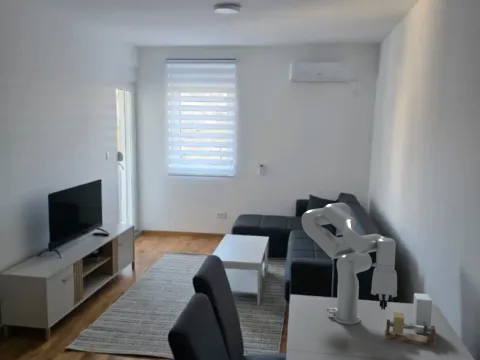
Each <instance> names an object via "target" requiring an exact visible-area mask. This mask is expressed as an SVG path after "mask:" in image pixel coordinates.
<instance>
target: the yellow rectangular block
mask: <svg viewBox="0 0 480 360" xmlns="http://www.w3.org/2000/svg"><path fill="white" fill-rule="evenodd" d="M392 316H393V317H392V322H393V327H392V331H393V333H400V334H403V333H404V328H403V327H404V323H405V315H404V313H403V312H395V311H394V312H393V315H392Z"/></svg>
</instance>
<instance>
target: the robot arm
mask: <svg viewBox="0 0 480 360" xmlns="http://www.w3.org/2000/svg"><path fill="white" fill-rule="evenodd" d="M351 214H352V210H351V208H350V206H349V205H348V204H347V203H345V202H335V203H329V204H326V205H324V207H322V208H314V209H310V210H307V211H305V212H304V213H303V214H302V216H301V225H302V229H303V231H304V232H305V233H306V234H307V236H308V237H309V238H310V239H312V240H313V241H314V242H315V243H316V244H317V245H318V247H320V248H321V249H322V250H323V252H325V254H327V255H328V256H329V257H330V258H332V259H337V261H336V269H337V292H336V293H337V297H336V298H337V299H336V307H329V306H327V307H326V312H328V313H329V314H332V318H333V320H334V321H335V322H337V323H339V324H343V325H347V326H348V325H351V326H353V325H356V324H359V323H360V322H361V317H360V315H359V314H358V309H359V308H358V307H359V306H358V305H359V292H360V291H359V290H360V289H359V288H360V287H359V286H360V285H359V284H360V283H359V282H360V281H359V279H358V277H357V274H359V273H362V272H365V271H368V270H369V269H370V268H371V267H373V268H374V269H373V273H372V277H371V278H372V281H371V290H370V294H371V295H373V296H376V297H377V298H378V299H379V307H380V310H384V311H385V310H386V308H388V301H389V300H390V299H391V298H396V297H397V296H398V293H397V291H398V275H397V274H398V273H397V271H396V270H395V265H396V261H395V260H396V249H397V248H396V245H397V244H396V241H395V240H394V239H393V238H391V237H385V236H383V235H381V234H378V233H372V234H371V233H370V234H365V235H361V234H359V233H357V232H356V231H355V230H354V229H355V227H356V224H357V221H356V219H355V218H354V217H353V216H352V215H351ZM323 225H324V226H325V225H332V226H333V227H335V228H336V229H338V230H339V231H340V232H341V233H342V236H340V237H339V236H338V237H337V236H335V235H334V234H333V233H332V232H331V231H329V229H327V228H326V227H323ZM375 252H376V256H375V257H376V259H375V262H374V263H373V261H372V257H371V256H370V254H369V253H375ZM383 295H385V296H384V297H383Z"/></svg>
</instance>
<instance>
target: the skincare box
mask: <svg viewBox="0 0 480 360" xmlns="http://www.w3.org/2000/svg"><path fill="white" fill-rule="evenodd" d="M432 305H433V299H432V298H431V296H430V295H429V293H418V292H415V293H414V294H413V306H412V307H413V308H412V324H413V325H420V326H423V321H424V322H426V324H427V327H431V326H432V324H431V323H432ZM414 332H415V333H417V334H423V331H418V330H414ZM426 335H431V332H427V333H426Z"/></svg>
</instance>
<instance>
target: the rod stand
mask: <svg viewBox="0 0 480 360" xmlns="http://www.w3.org/2000/svg"><path fill="white" fill-rule="evenodd" d="M391 327H392V328H393V321H391V319H386V327H385V330H384V340H385V341H392V342H397V343H398V342H400V343H406V344H413V345H418V346H426V347H432V348H436V345H437V344H436V339H435V338H436V337H435V336H436V326H435V325H431V327H427V324H426V322H424V321H423V326H420V325H413V323H412V324H410V323H405V322H404V327H403V330H404V329H405V330H413V331H415V330H418V331H423V333H422V335H421V334H414V333H408V332H403V334H400V333H393V330H390V329H391ZM427 332H430V336H429V335H427V334H426V333H427Z"/></svg>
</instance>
